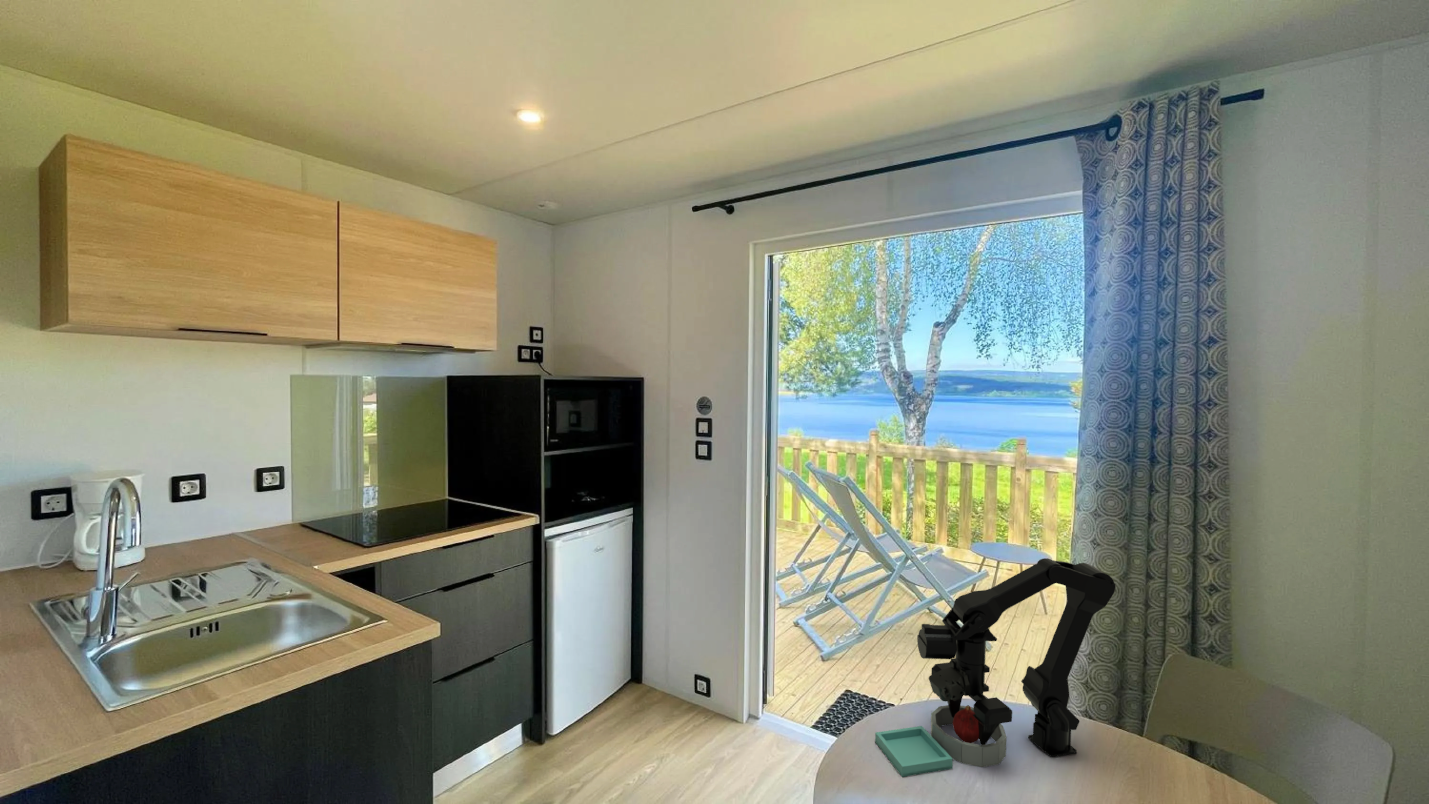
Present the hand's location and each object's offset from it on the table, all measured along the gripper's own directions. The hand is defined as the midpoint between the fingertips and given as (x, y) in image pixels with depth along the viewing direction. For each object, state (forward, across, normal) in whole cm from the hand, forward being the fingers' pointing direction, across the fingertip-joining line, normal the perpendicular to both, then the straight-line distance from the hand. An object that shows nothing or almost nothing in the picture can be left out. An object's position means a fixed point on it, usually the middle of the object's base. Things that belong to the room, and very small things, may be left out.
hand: (967, 730), depth 119 cm
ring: (+3, 0, 0) cm, 3 cm away
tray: (+3, +1, -14) cm, 14 cm away
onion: (+3, 0, 0) cm, 3 cm away
